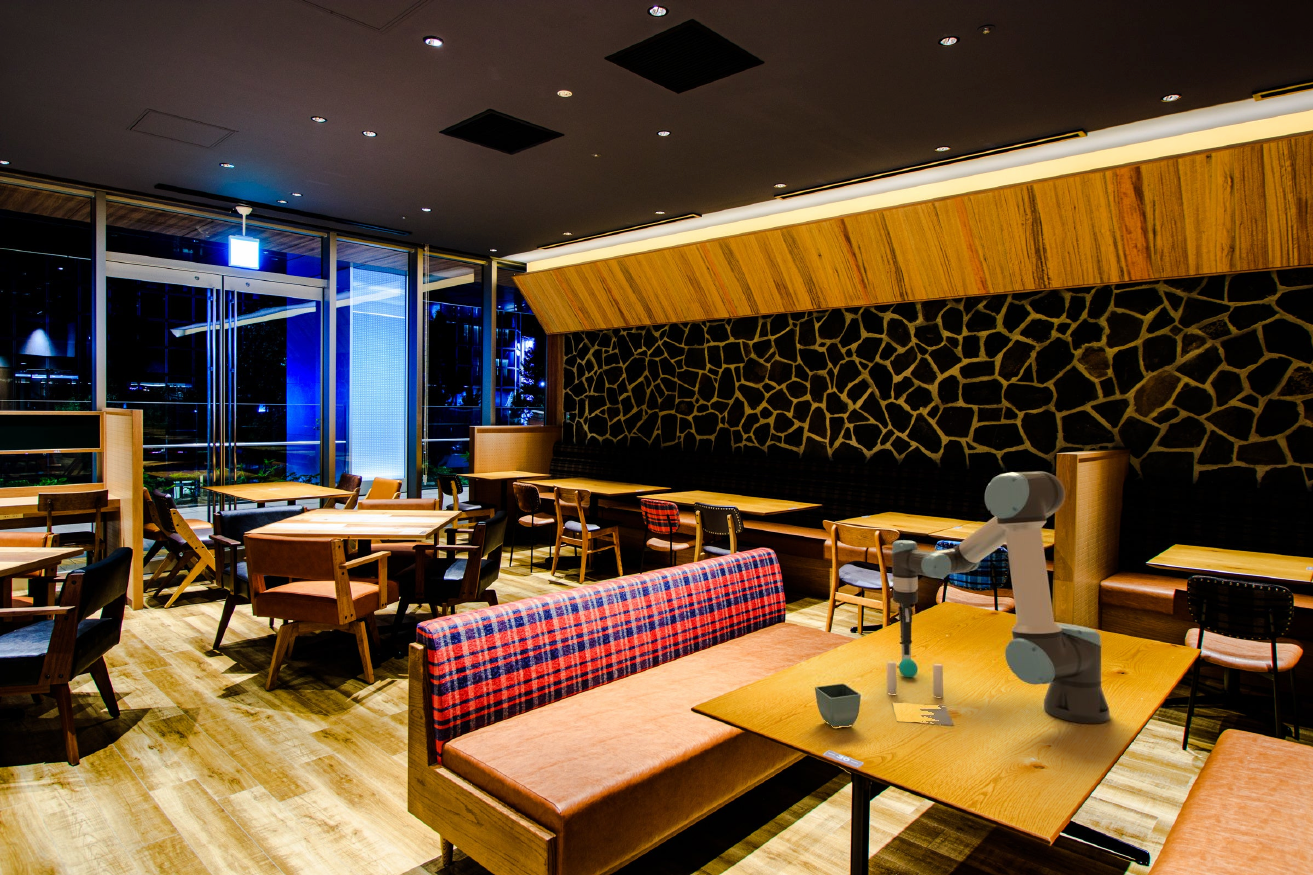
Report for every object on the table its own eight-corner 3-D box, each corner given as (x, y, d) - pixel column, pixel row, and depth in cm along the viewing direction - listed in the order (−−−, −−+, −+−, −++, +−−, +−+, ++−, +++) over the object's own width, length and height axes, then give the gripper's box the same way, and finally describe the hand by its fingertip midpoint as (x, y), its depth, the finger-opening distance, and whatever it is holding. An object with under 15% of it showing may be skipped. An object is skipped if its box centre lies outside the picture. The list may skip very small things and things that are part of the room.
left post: (897, 695, 207) (896, 664, 207) (887, 694, 207) (887, 663, 207) (896, 692, 209) (895, 661, 209) (886, 691, 210) (886, 660, 210)
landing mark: (954, 725, 185) (954, 724, 185) (896, 721, 188) (896, 720, 188) (944, 705, 199) (944, 705, 199) (891, 702, 202) (891, 701, 202)
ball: (918, 680, 219) (918, 662, 219) (899, 679, 220) (899, 661, 220) (916, 674, 225) (916, 656, 225) (897, 673, 226) (897, 655, 226)
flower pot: (831, 733, 181) (830, 698, 181) (814, 720, 189) (813, 686, 189) (862, 729, 183) (861, 694, 183) (844, 716, 192) (843, 682, 192)
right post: (943, 698, 204) (943, 666, 204) (934, 697, 205) (933, 666, 205) (942, 695, 206) (941, 663, 206) (932, 694, 207) (932, 663, 207)
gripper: (891, 585, 236) (892, 657, 236) (894, 593, 224) (895, 669, 224) (915, 585, 235) (916, 658, 235) (920, 594, 222) (921, 671, 222)
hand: (906, 663), depth 229 cm, fingers closed
